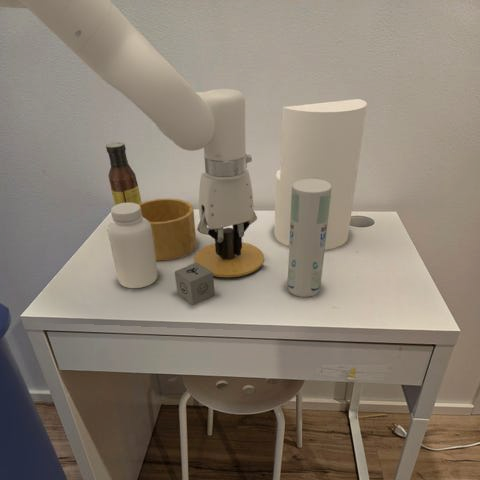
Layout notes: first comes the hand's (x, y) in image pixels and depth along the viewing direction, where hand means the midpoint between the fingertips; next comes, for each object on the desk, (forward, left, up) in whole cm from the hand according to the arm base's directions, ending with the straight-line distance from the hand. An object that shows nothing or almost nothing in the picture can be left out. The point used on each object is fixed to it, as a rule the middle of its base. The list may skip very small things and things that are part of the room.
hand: (229, 254), depth 91 cm
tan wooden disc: (0, 0, -1) cm, 1 cm away
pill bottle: (-19, +3, -2) cm, 19 cm away
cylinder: (+23, +3, -2) cm, 23 cm away
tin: (-9, +14, -2) cm, 17 cm away
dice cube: (-11, -8, -2) cm, 14 cm away
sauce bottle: (-13, +27, -2) cm, 30 cm away
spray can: (+8, -16, -2) cm, 18 cm away
